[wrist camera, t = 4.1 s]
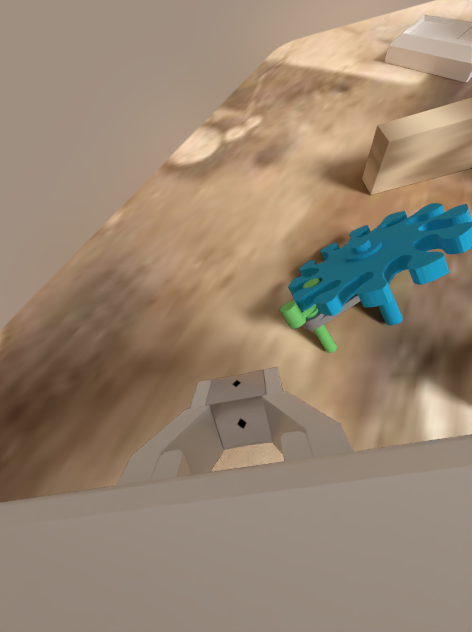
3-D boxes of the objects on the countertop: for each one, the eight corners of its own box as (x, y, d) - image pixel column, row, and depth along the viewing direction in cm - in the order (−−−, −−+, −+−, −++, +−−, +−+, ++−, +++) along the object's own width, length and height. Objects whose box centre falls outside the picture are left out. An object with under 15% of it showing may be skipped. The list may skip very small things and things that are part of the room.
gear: (378, 202, 19) (543, 175, 10) (404, 267, 21) (563, 296, 12) (256, 284, 20) (303, 330, 11) (292, 340, 22) (358, 420, 13)
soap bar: (463, 87, 26) (481, 52, 23) (383, 66, 29) (391, 34, 27) (493, 61, 26) (513, 25, 24) (410, 44, 30) (421, 11, 28)
